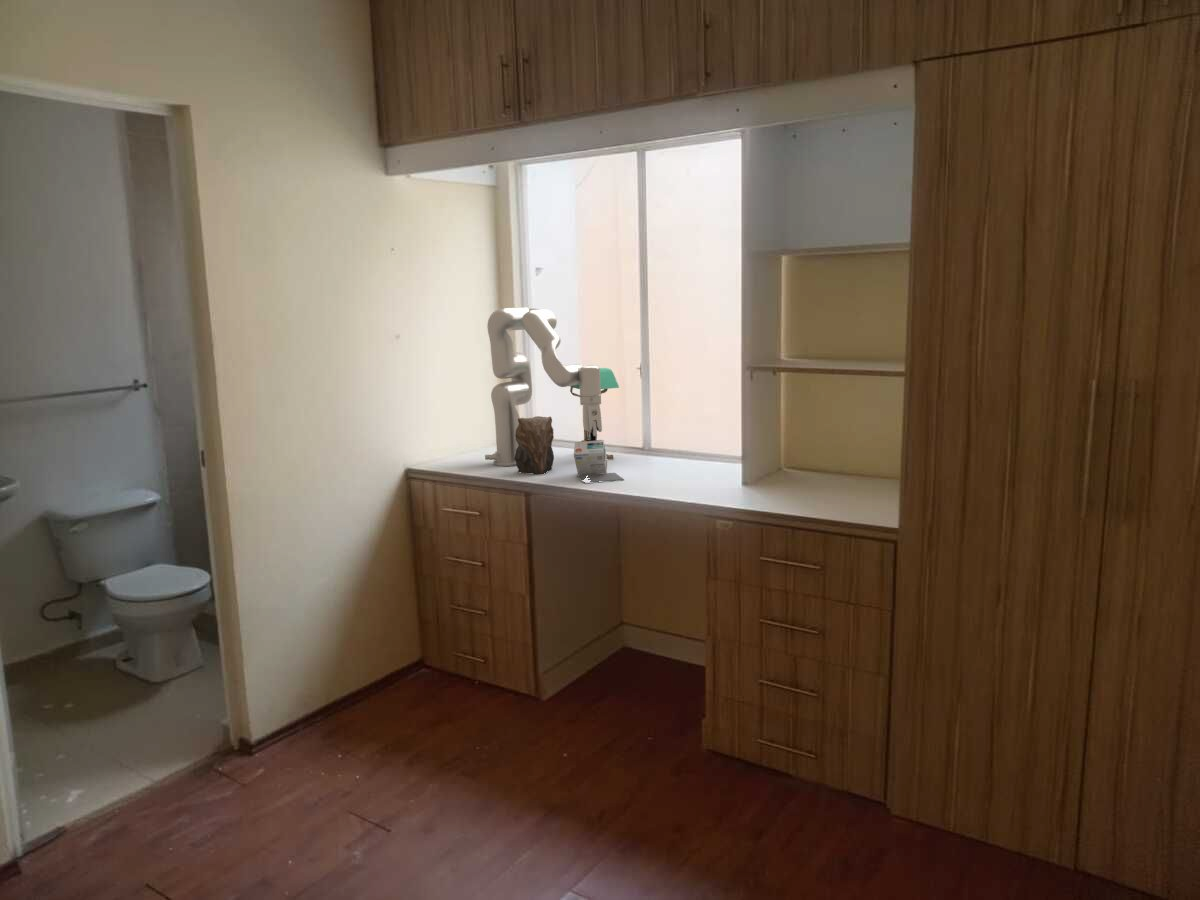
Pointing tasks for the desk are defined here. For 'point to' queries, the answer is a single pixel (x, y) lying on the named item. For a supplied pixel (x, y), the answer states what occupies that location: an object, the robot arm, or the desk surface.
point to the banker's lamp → (606, 383)
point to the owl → (534, 445)
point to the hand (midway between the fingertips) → (592, 450)
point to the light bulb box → (590, 457)
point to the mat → (601, 477)
